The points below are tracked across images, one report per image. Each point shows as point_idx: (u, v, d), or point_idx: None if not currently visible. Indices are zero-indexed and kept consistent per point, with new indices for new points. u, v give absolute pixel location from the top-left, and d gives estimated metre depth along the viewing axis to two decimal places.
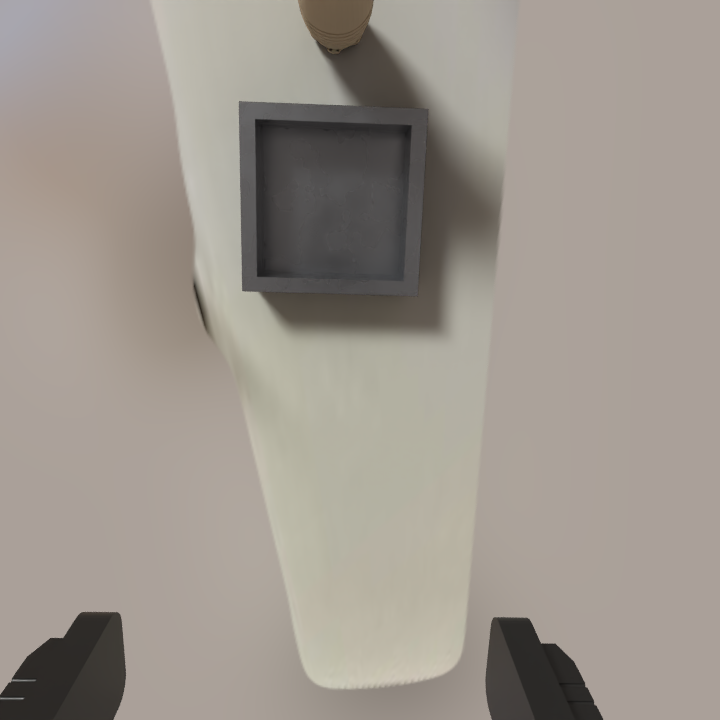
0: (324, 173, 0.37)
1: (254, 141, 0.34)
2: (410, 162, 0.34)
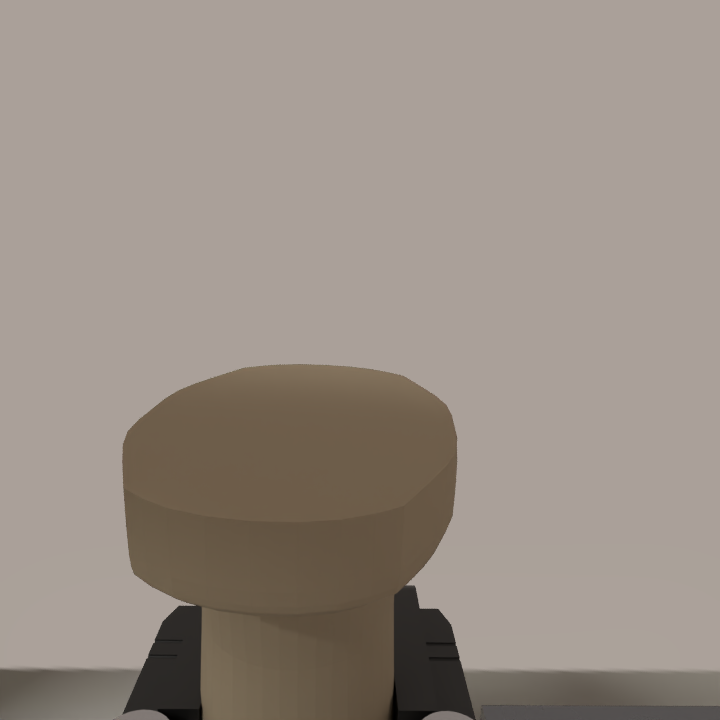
0: None
1: None
2: None
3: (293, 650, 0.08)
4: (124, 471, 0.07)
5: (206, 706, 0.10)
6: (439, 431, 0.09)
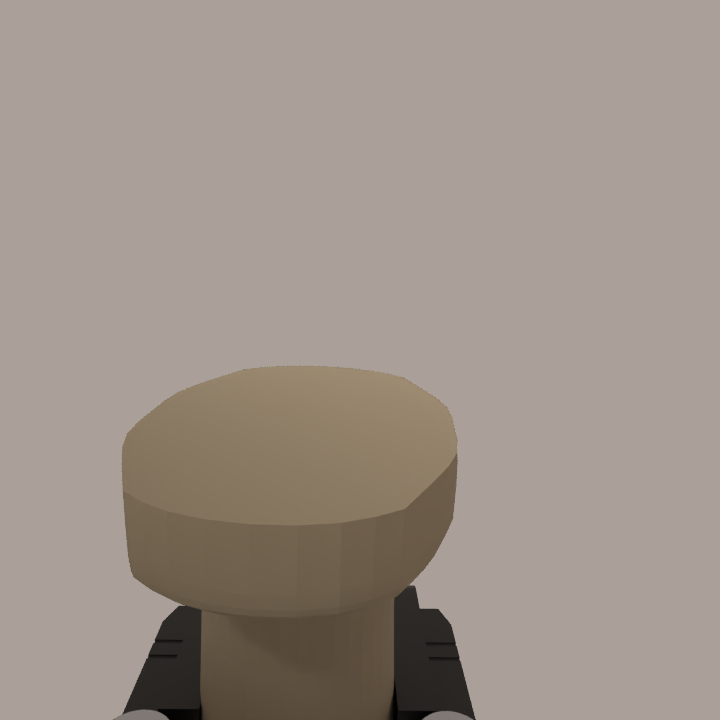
0: None
1: None
2: None
3: (293, 652, 0.08)
4: (124, 474, 0.07)
5: (206, 709, 0.09)
6: (439, 433, 0.09)
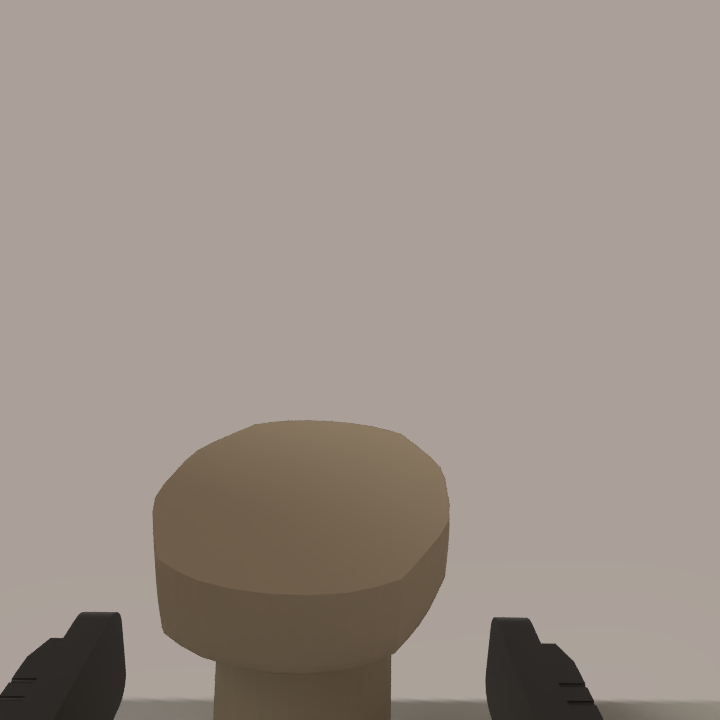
0: None
1: None
2: None
3: (301, 696, 0.09)
4: (156, 541, 0.08)
5: None
6: (434, 497, 0.10)
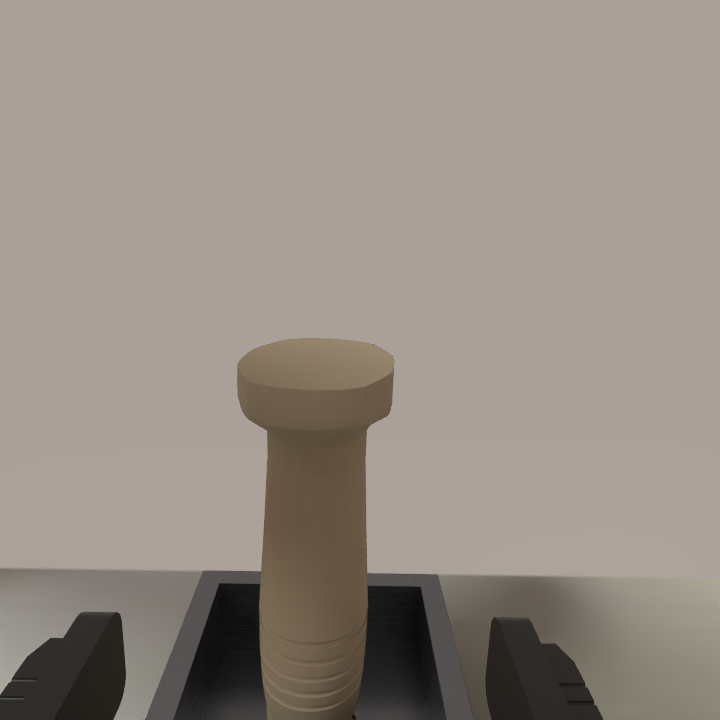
0: None
1: None
2: None
3: (315, 466, 0.18)
4: (244, 376, 0.17)
5: (270, 505, 0.19)
6: (386, 366, 0.18)
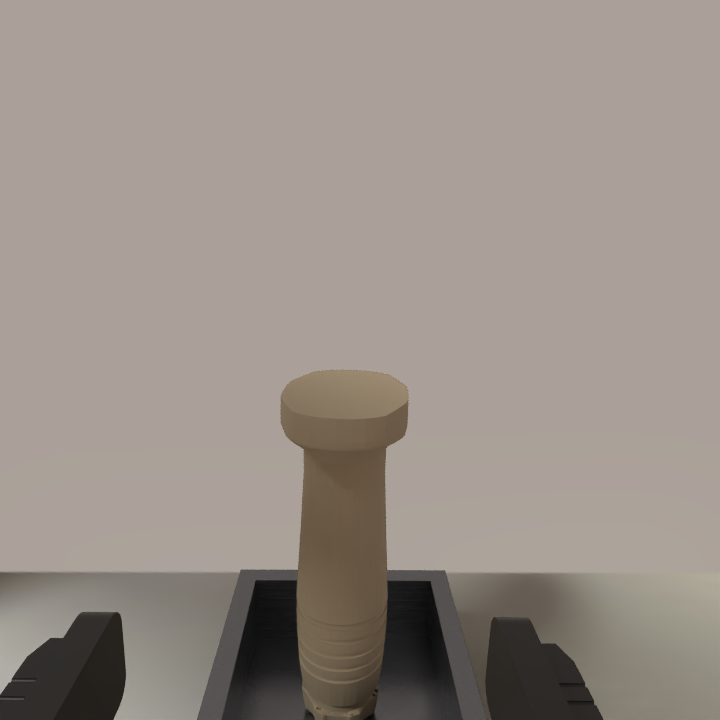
0: (300, 717, 0.26)
1: None
2: (295, 580, 0.30)
3: (346, 479, 0.22)
4: (289, 407, 0.21)
5: (307, 512, 0.23)
6: (401, 395, 0.22)
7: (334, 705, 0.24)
